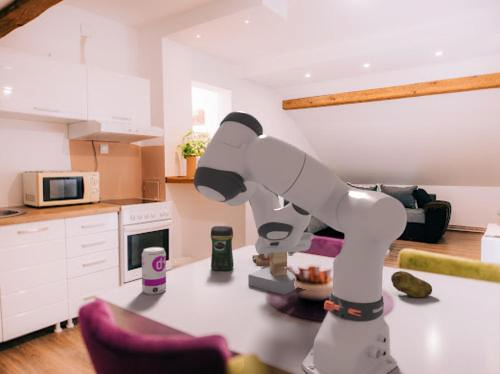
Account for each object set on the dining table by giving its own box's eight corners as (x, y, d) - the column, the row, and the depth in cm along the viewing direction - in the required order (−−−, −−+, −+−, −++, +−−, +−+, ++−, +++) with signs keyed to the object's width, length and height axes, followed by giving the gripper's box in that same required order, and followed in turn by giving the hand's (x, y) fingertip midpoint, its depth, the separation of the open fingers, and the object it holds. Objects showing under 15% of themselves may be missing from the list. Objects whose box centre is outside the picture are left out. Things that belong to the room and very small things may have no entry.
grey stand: (284, 294, 121) (284, 283, 121) (248, 284, 132) (248, 274, 131) (307, 282, 134) (307, 272, 134) (273, 274, 144) (273, 265, 144)
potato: (432, 302, 115) (432, 278, 114) (389, 296, 121) (390, 273, 120) (432, 294, 122) (432, 271, 122) (392, 288, 128) (392, 267, 127)
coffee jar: (235, 266, 155) (235, 225, 154) (230, 272, 147) (230, 228, 146) (214, 265, 157) (214, 224, 156) (208, 270, 149) (208, 227, 148)
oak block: (287, 274, 131) (287, 248, 130) (274, 276, 129) (274, 249, 129) (282, 271, 136) (282, 245, 135) (269, 272, 134) (269, 246, 134)
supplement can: (170, 290, 125) (170, 249, 124) (150, 297, 119) (149, 253, 118) (158, 285, 131) (157, 245, 130) (137, 291, 125) (137, 249, 124)
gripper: (312, 225, 127) (301, 246, 137) (258, 228, 122) (251, 249, 132) (318, 240, 123) (306, 260, 133) (262, 243, 118) (254, 264, 128)
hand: (278, 255), depth 132 cm, fingers open, 8 cm apart
